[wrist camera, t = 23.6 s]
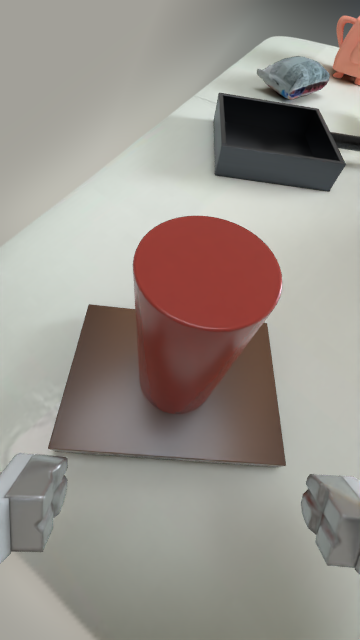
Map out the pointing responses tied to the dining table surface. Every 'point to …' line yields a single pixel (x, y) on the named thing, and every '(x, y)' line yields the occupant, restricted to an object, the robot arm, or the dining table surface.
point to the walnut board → (158, 426)
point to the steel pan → (277, 143)
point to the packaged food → (295, 76)
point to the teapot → (348, 50)
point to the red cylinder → (198, 305)
